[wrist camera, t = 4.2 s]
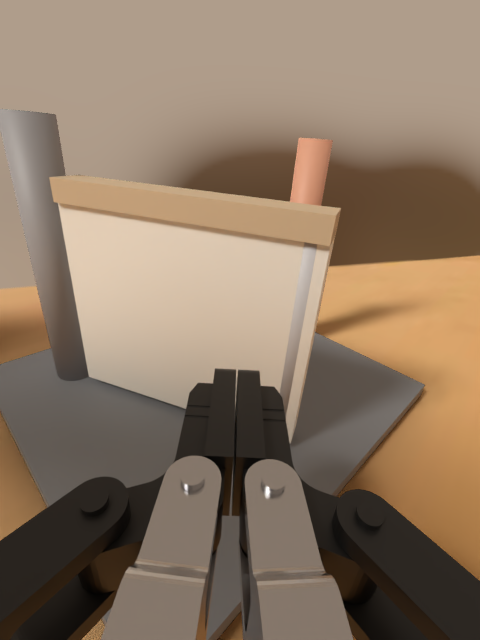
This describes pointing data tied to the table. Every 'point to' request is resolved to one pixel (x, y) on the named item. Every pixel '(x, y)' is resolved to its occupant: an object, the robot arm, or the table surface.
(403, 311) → the table surface
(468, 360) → the table surface
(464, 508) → the table surface
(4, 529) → the table surface
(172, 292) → the panel
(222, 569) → the board
